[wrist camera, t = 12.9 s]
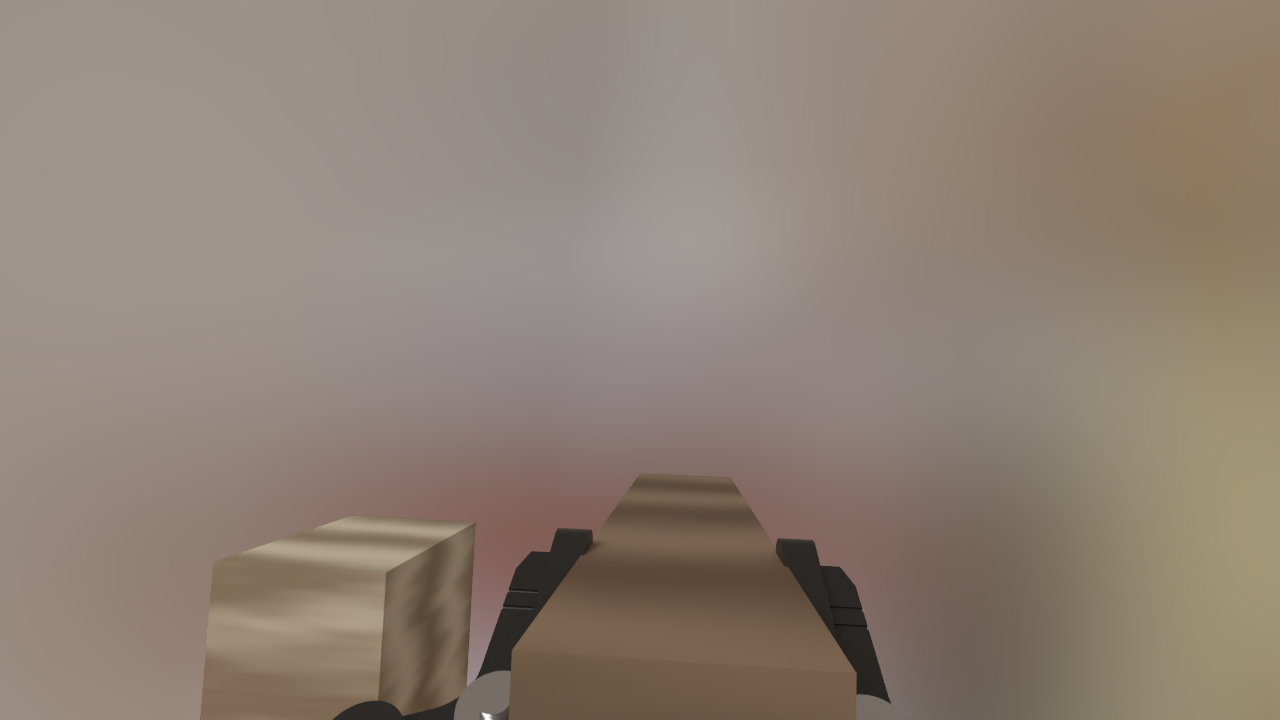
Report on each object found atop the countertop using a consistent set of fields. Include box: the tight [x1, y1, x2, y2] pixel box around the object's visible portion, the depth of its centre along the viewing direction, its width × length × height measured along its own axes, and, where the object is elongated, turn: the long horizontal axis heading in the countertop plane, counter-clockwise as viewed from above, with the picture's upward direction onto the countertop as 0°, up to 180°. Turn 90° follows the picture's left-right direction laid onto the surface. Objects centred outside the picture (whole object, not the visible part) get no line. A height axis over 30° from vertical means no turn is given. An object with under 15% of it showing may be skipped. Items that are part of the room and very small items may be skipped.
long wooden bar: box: [508, 474, 857, 720], centre depth 18 cm, size 21×4×4 cm, turn 176°
